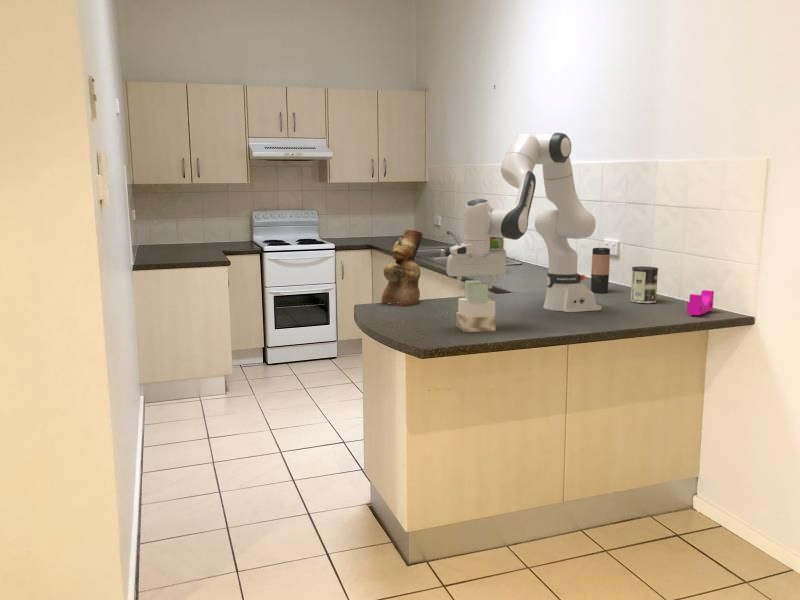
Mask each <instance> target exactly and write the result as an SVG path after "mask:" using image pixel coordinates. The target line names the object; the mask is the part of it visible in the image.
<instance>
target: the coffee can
mask: <svg viewBox="0 0 800 600" xmlns="http://www.w3.org/2000/svg"><path fill="white" fill-rule="evenodd" d="M631 270H632V271H631V287H630V289H631V290H630V302H633V303H638V304H639V303H640V304H653V303H657V291H658V274H659V273H658V272H659V268H658V267H655V266H645V265H644V266H632V267H631Z"/></svg>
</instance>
